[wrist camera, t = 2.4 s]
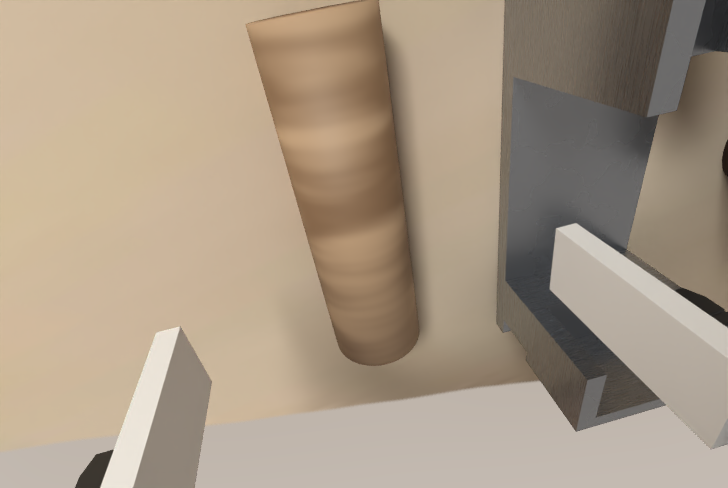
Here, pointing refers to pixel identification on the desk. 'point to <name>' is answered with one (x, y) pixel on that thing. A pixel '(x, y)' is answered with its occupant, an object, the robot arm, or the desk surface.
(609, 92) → the bracket
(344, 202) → the wooden cylinder
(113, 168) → the desk surface
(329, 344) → the desk surface
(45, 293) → the desk surface
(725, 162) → the coffee mug
